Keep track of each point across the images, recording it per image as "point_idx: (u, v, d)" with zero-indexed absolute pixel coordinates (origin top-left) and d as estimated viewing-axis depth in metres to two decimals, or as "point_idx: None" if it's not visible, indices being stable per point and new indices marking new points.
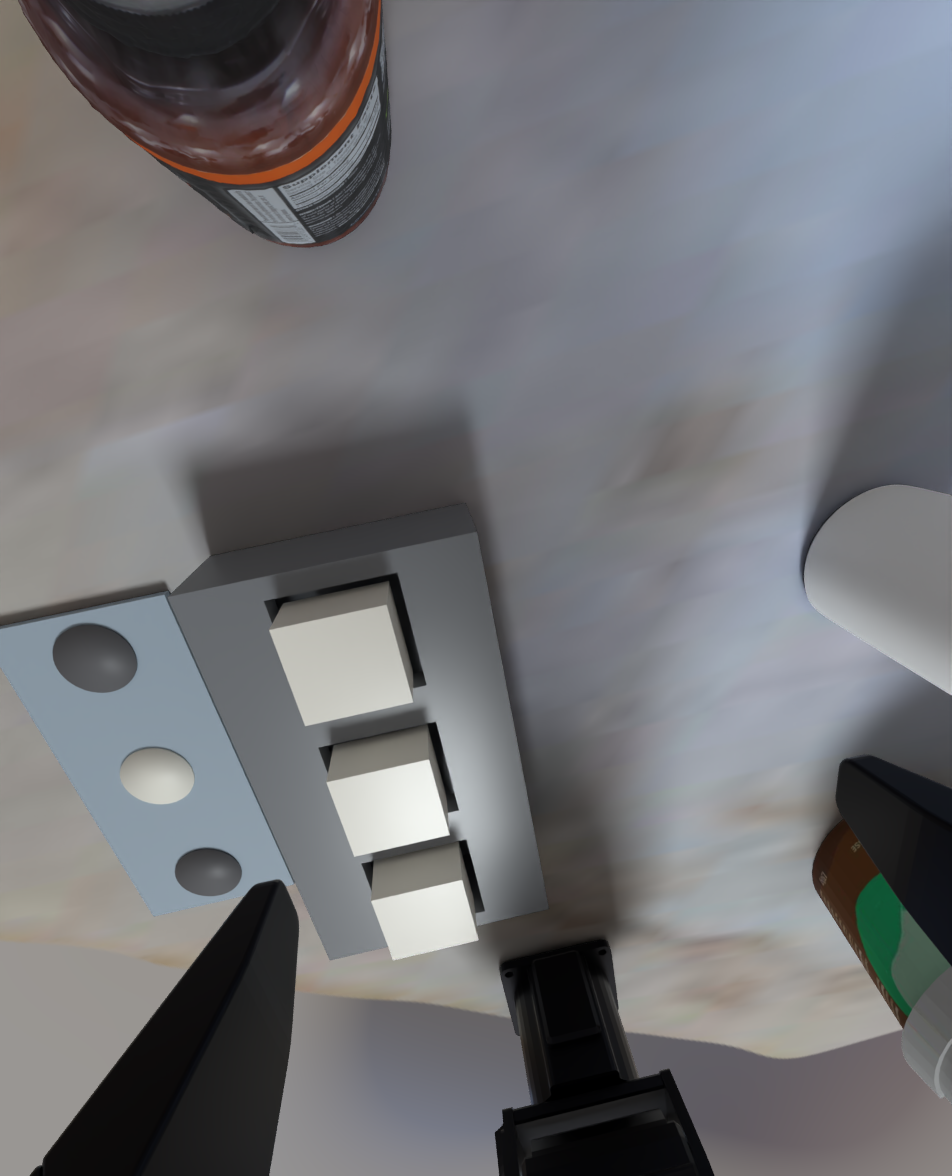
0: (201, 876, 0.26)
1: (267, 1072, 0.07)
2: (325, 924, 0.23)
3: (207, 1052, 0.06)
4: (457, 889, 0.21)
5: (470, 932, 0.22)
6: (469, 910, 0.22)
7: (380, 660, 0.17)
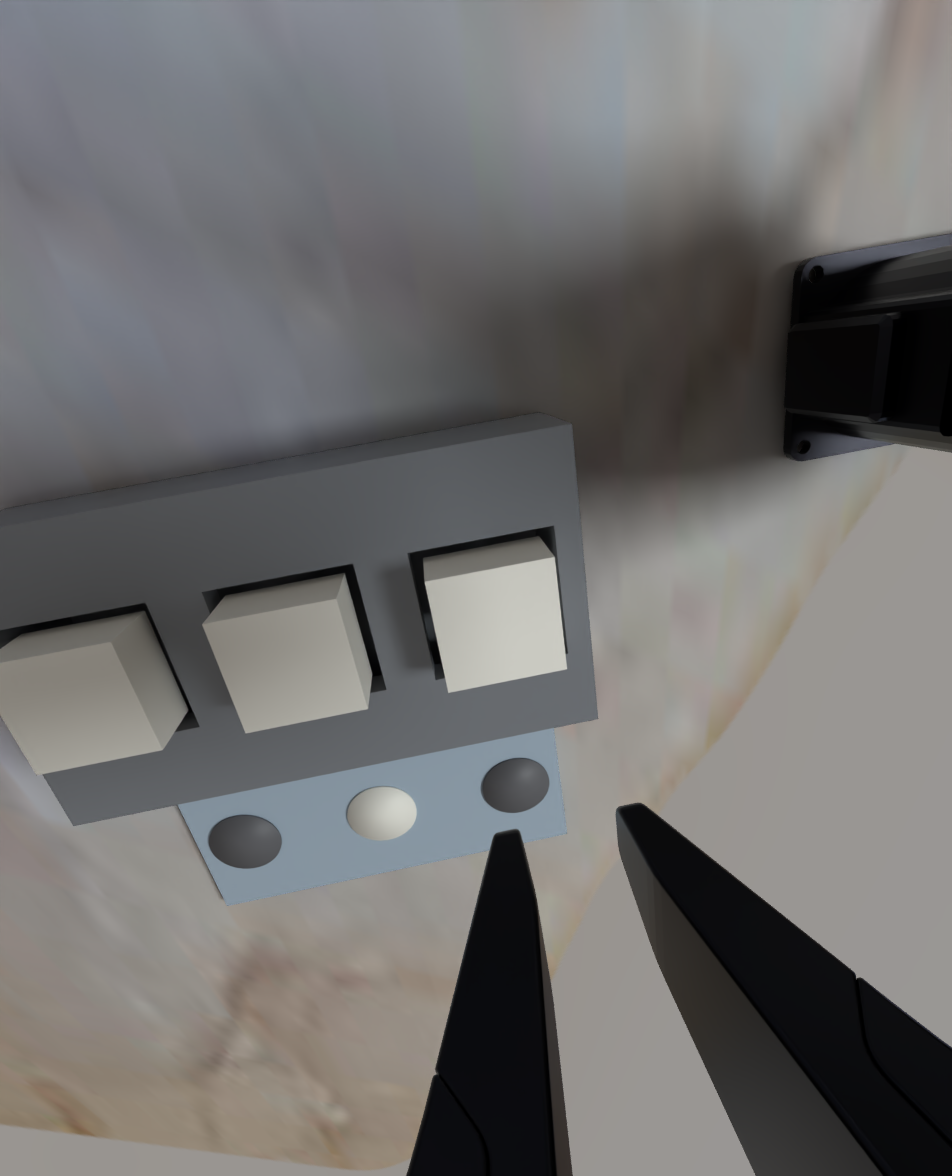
0: (518, 793, 0.24)
1: (552, 1008, 0.07)
2: (533, 720, 0.19)
3: (542, 977, 0.06)
4: (443, 587, 0.15)
5: (534, 569, 0.15)
6: (489, 570, 0.15)
7: (53, 675, 0.15)
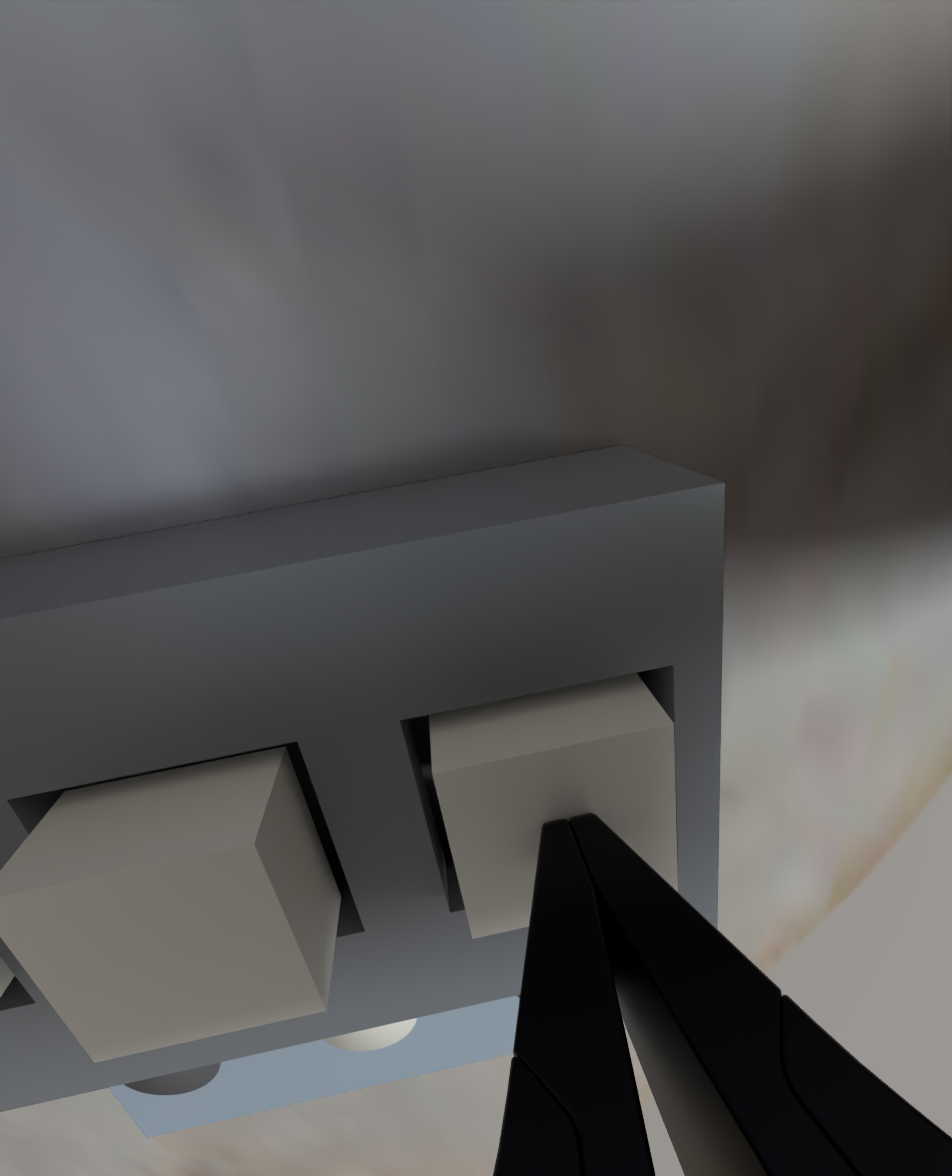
0: None
1: None
2: None
3: (609, 962, 0.06)
4: (466, 781, 0.08)
5: (635, 745, 0.08)
6: (552, 750, 0.08)
7: None
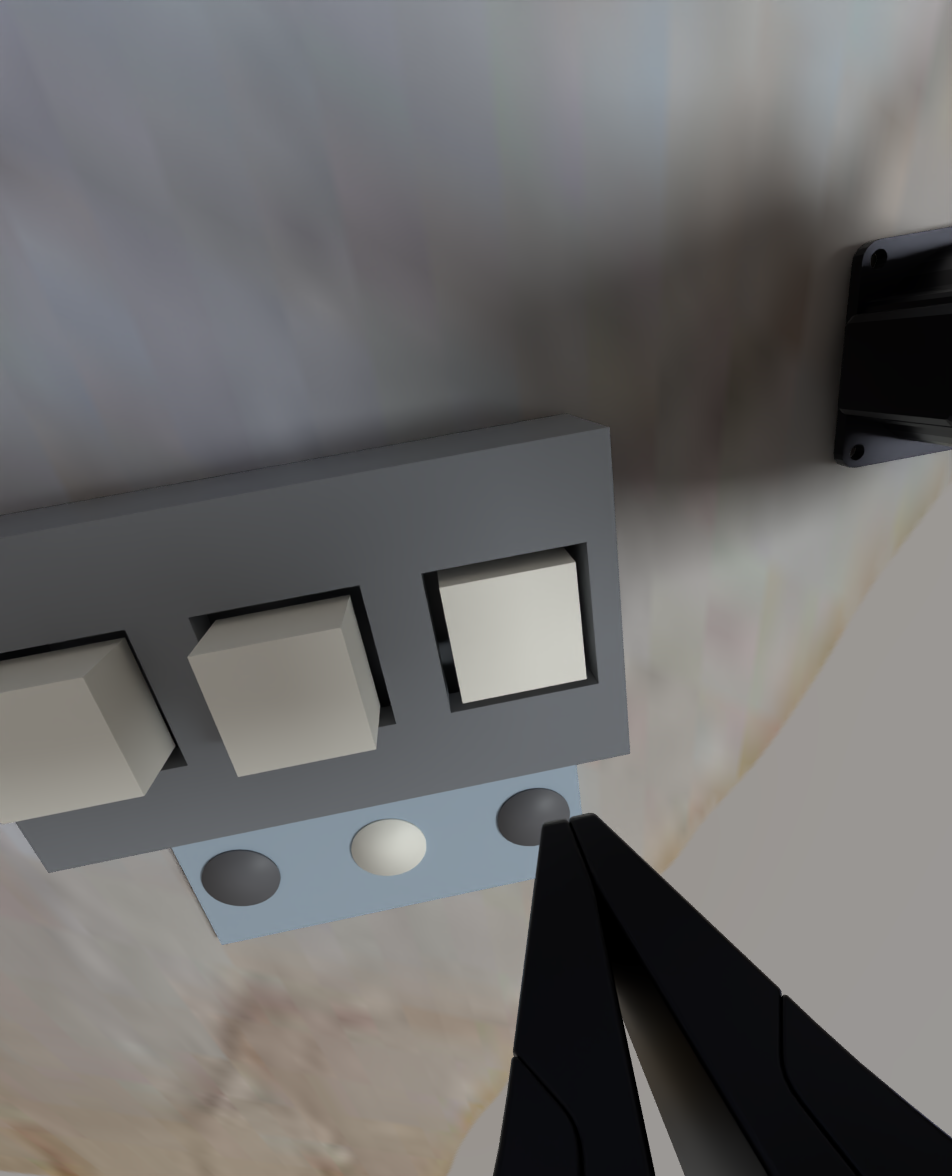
0: (536, 825, 0.23)
1: None
2: (558, 756, 0.17)
3: (609, 962, 0.06)
4: (458, 593, 0.14)
5: (554, 574, 0.14)
6: (506, 576, 0.14)
7: (17, 714, 0.13)
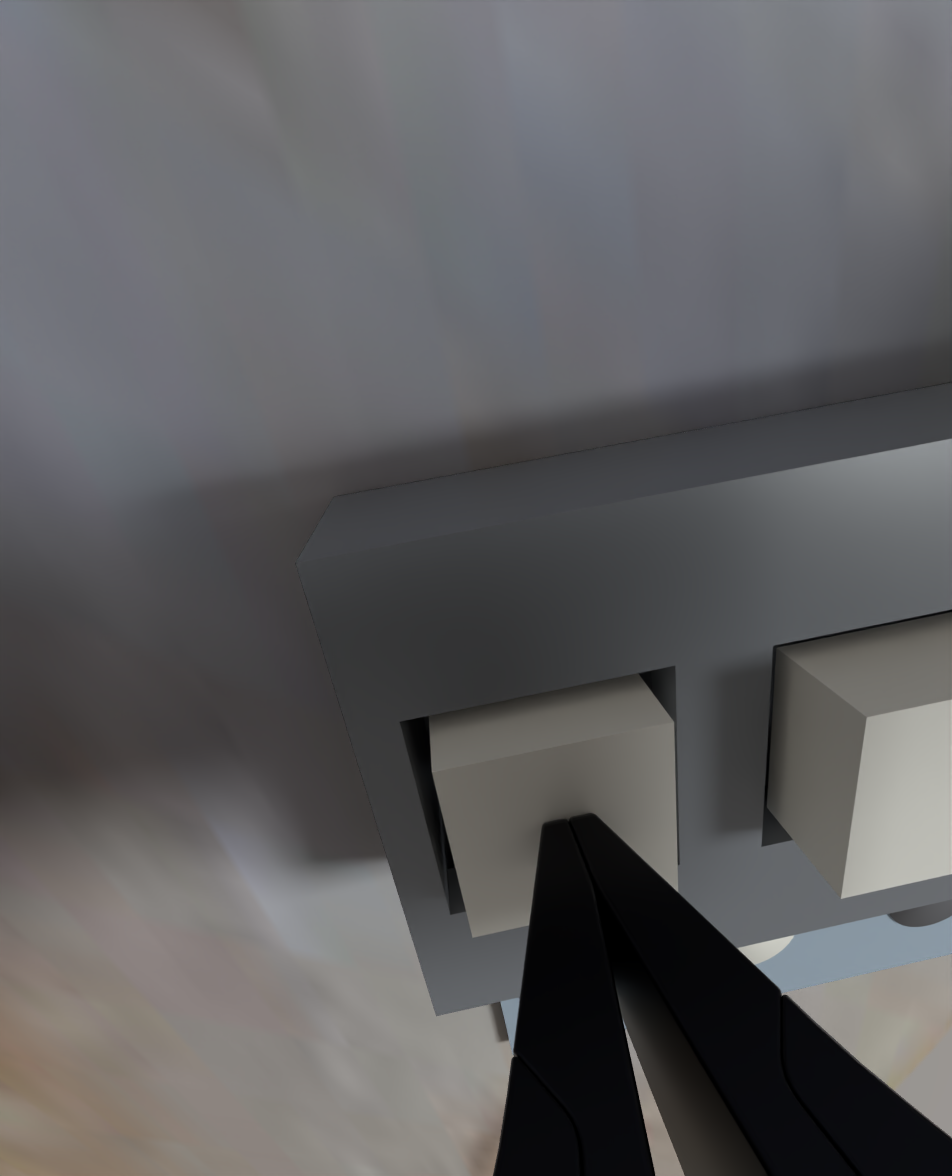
0: None
1: None
2: None
3: (609, 962, 0.06)
4: None
5: None
6: None
7: (559, 780, 0.08)
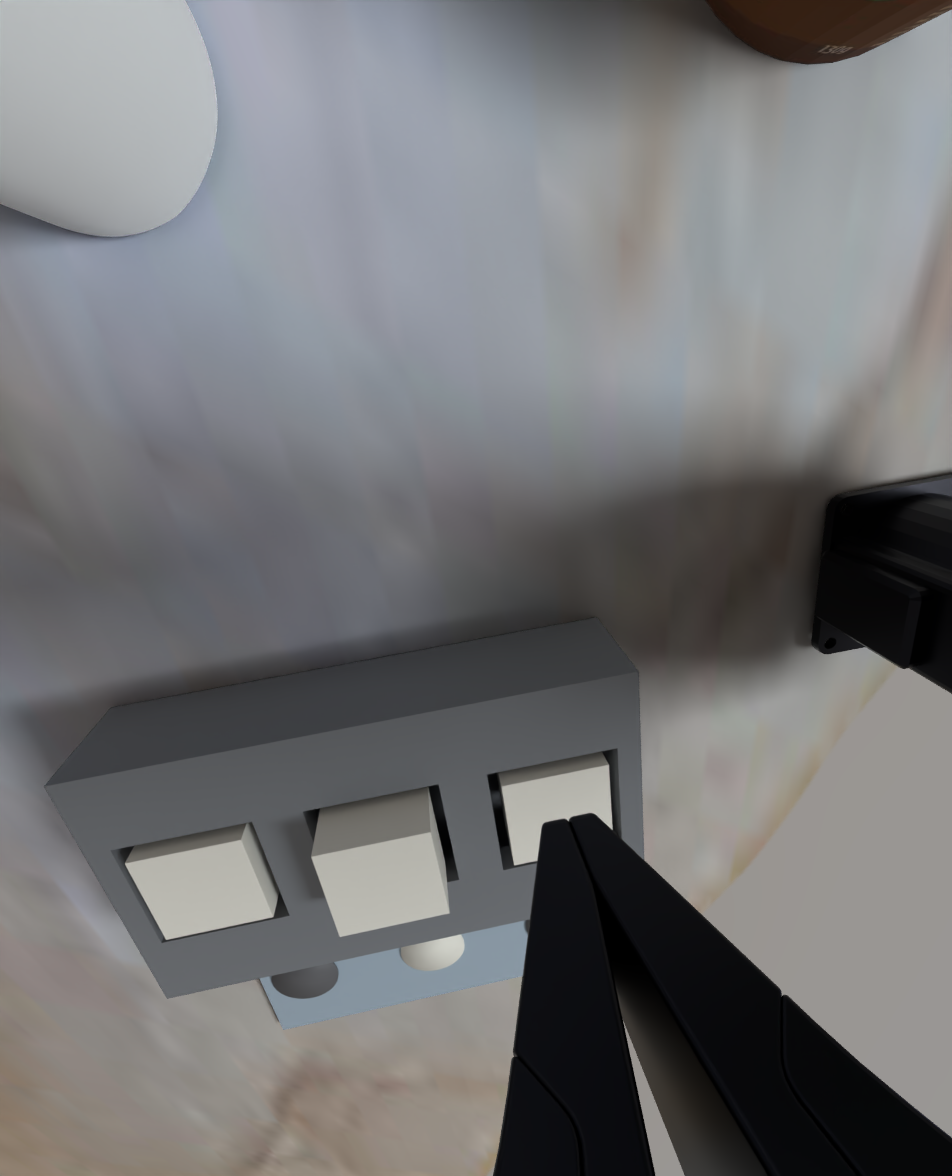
0: None
1: None
2: None
3: (609, 962, 0.06)
4: (516, 789, 0.18)
5: (591, 774, 0.18)
6: (554, 776, 0.18)
7: (190, 865, 0.17)
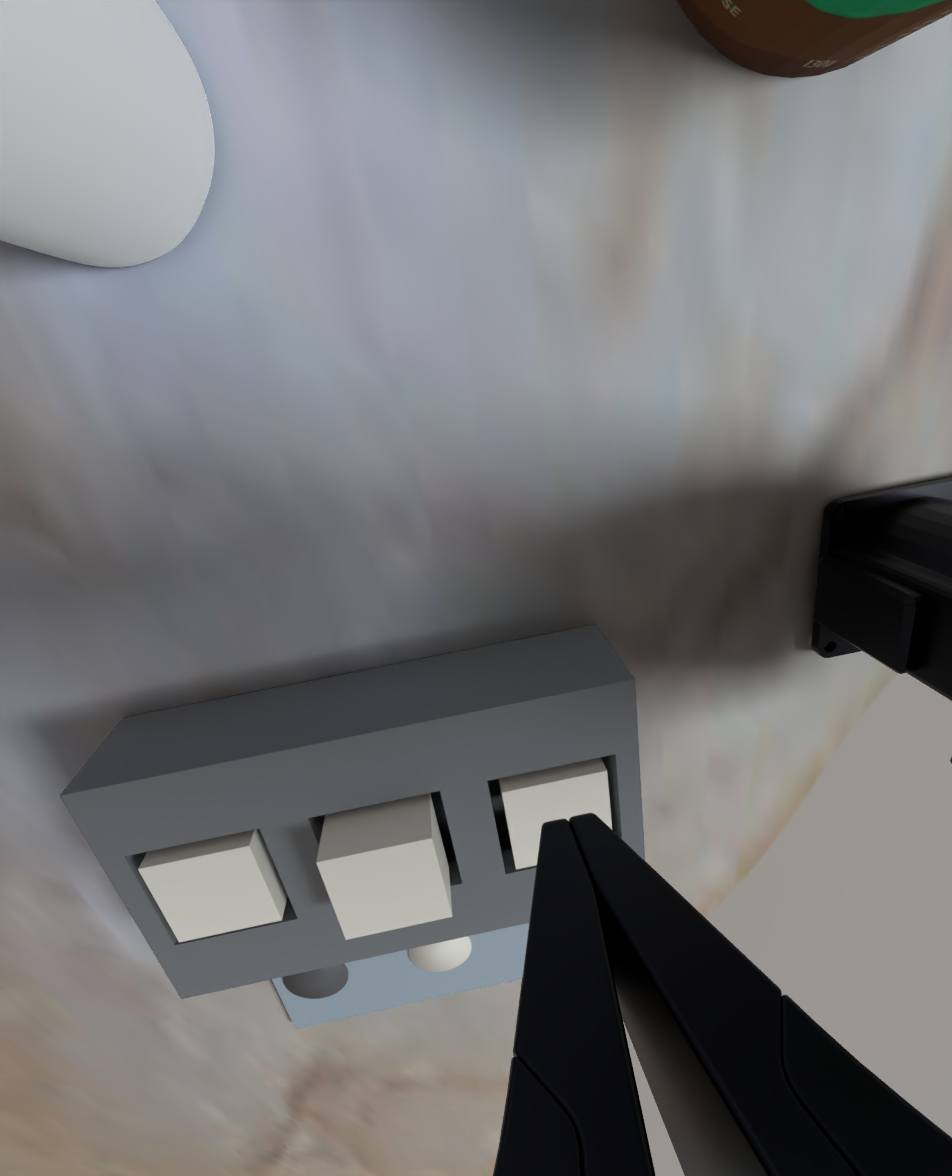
0: None
1: None
2: None
3: (609, 962, 0.06)
4: (516, 795, 0.18)
5: (590, 779, 0.18)
6: (553, 782, 0.18)
7: (201, 871, 0.18)
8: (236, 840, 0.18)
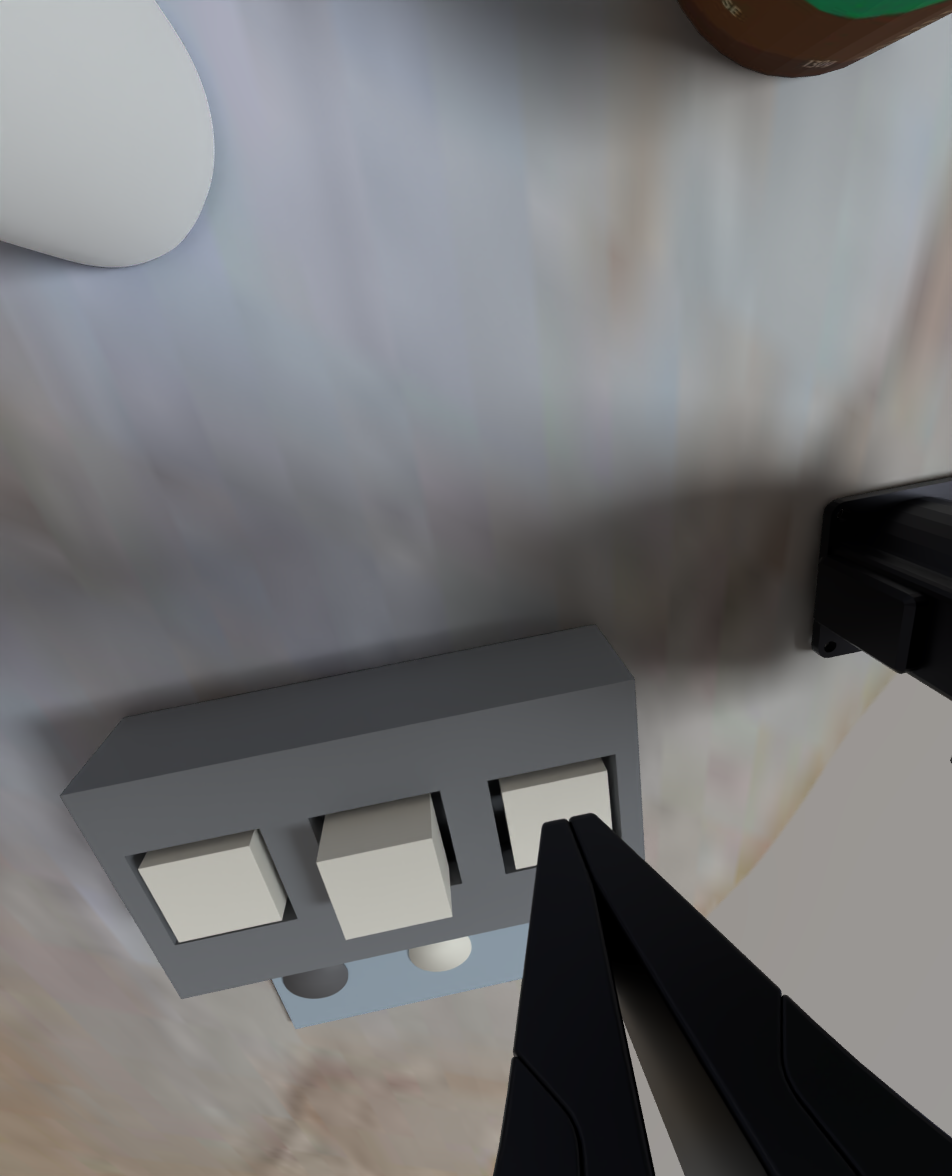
0: None
1: None
2: None
3: (609, 962, 0.06)
4: (516, 795, 0.18)
5: (590, 779, 0.18)
6: (553, 782, 0.18)
7: (201, 871, 0.18)
8: (236, 840, 0.18)
